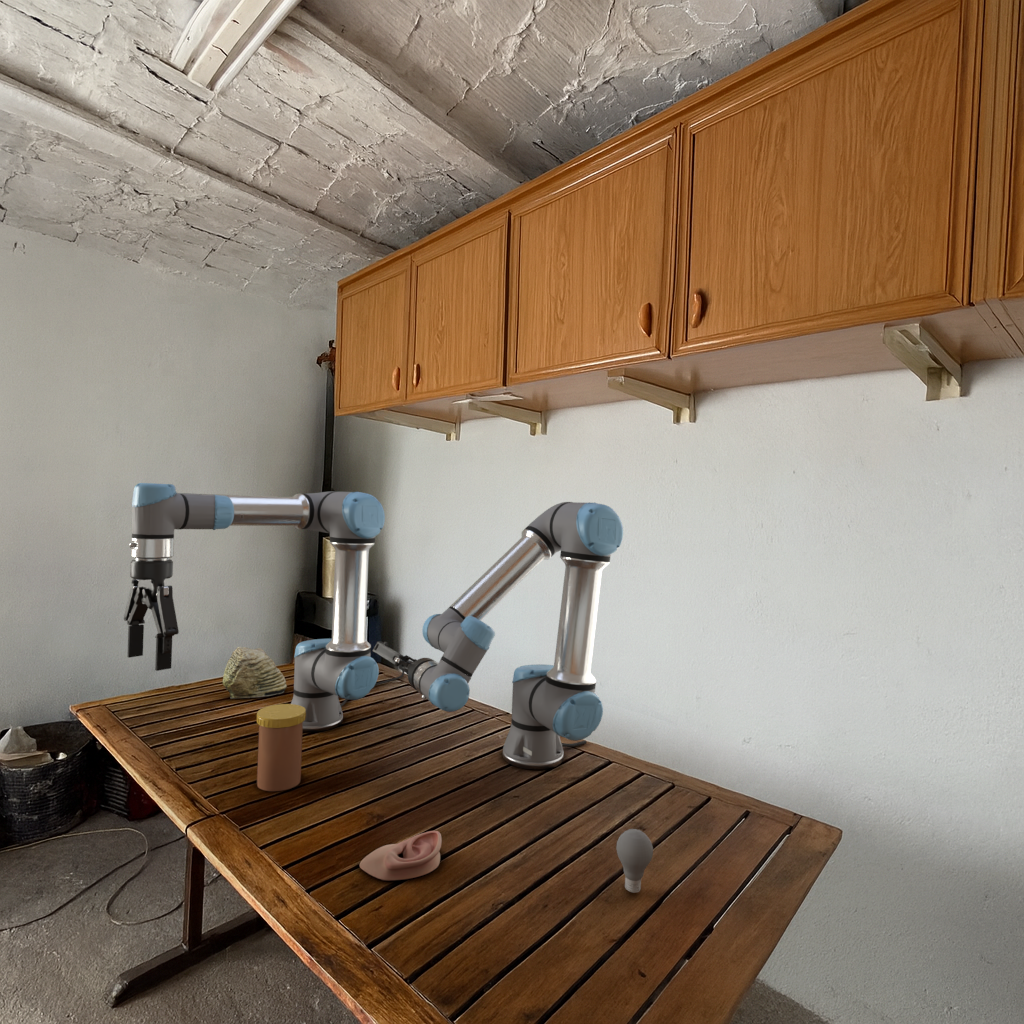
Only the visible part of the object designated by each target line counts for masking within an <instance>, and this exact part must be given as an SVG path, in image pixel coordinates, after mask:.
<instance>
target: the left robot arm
mask: <svg viewBox="0 0 1024 1024" xmlns="http://www.w3.org/2000/svg"><path fill="white" fill-rule="evenodd" d="M385 515H386V513H385V511H384V508H383V505H382V503H381V502H380V501H379V500H378V498H377V497H375V495H373V494H370V493H367V492H363V491H362V492H361V491H337V490H336V491H335V490H333V491H332V490H330V491H321V492H311V493H295V494H294V495H293V496H276V495H275V496H274V495H273V496H272V495H248V494H247V495H246V494H244V495H243V494H220V493H219V494H218V493H217V494H216V493H215V494H214V493H189V492H187V493H186V492H177V491H176V486H175V485H174V484H173V483H152V482H139V483H137V484H136V485H135V486H134V488H133V492H132V501H131V520H132V521H131V542H130V543H128V547H129V548H130V549H131V550H130V556H131V558H133V559H132V560H131V561H130V567H129V568H130V571H129V574H130V575H129V576H130V578H131V581H130V590H129V594H128V598H127V603H126V607H125V610H124V615H123V621H124V622H126V624H127V626H128V629H127V630H128V631H127V658H135V657H142V656H144V635H145V634H144V630H145V625H144V624H145V623H146V621H145V619H144V618H145V616H146V615H147V612H148V609H149V610H151V613H152V618H153V620H154V624H155V627H156V631H157V633H156V635H155V636H154V638H155V661H154V663H155V665H154V668H155V669H154V670H155V671H157V672H159V671H164V670H169V669H172V659H173V657H172V655H173V637H175V636H176V635H179V632H180V631H179V625H178V619H177V615H176V614H177V613H176V609H175V603H174V597H173V595H174V593H173V585H165V580H167V579H171V578H172V577H173V575H174V573H173V572H174V561H173V560H172V559H171V558H173V557H174V554H175V553H174V552H175V530H213V531H215V530H224V529H228V528H230V526H233V527H234V526H237V527H238V526H240V527H243V526H246V527H247V526H249V527H250V526H258V527H259V526H268V527H269V526H276V527H277V526H282V527H284V526H285V527H286V526H287V527H288V526H289V527H290V526H291V527H293V528H294V529H296V530H308V531H309V530H310V531H316V532H319V533H325V534H329V544H330V545H331V546H332V547H333V548H334V550H335V551H334V572H333V573H334V577H333V599H332V625H331V626H332V627H331V638H317V639H308V640H304V641H300V642H299V643H297V645H296V646H295V650H294V655H293V657H294V672H293V673H294V674H293V695H292V696H293V697H292V699H291V702H290V704H295V705H300V706H302V707H304V708H305V709H306V718H305V720H304V721H303V733H316V732H325V731H329V730H332V729H335V728H337V727H339V726H340V725H342V723H343V722H344V714H343V709H342V707H343V706H344V705H345V704H346V703H347V702H348V701H349V700H350V701H357V700H360V699H362V698H364V697H365V696H367V695H368V694H370V692H371V690H372V689H374V687H377V686H379V685H380V686H381V685H383V684H387V683H389V682H393V681H396V680H399V679H401V678H403V677H404V676H405V672H404V671H402V670H401V675H399V676H396V677H393V678H390V679H387V680H383V681H379V682H378V678H379V674H380V672H379V671H380V670H379V669H380V668H379V665H378V663H377V662H376V660H375V659H374V657H371V652H372V649H371V648H372V644H371V643H370V642H368V640H367V639H366V631H367V607H368V606H367V605H368V604H367V602H368V582H369V581H368V579H369V555H370V553H369V552H370V550H371V548H372V547H374V545H375V544H376V536H378V535H379V534H380V533H381V530H383V528H384V526H385V522H386V521H385V520H386V516H385ZM339 698H341V699H342V700H343V699H344V700H343V702H340V699H339Z"/></svg>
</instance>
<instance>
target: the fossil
mask: <svg viewBox="0 0 1024 1024" xmlns="http://www.w3.org/2000/svg"><path fill="white" fill-rule="evenodd" d="M222 676H223V677H222V685H223V687H224V688H225V690H226V691H228V693H229V698H230V699H250V698H264V697H271V696H275V695H281V694H284V693H285V691H286V689H287V687H288V686H287V680H286V678H285V676H284V674H283V673H282V672H281V669H279V668H278V667H277V665H276V663H275V662H274V660H273V659H272V658H271V657H270V656H269V655H268V654H267V653H266V652H265V650H264V649H263V648H260V647H258V648H251V647H247V646H246V647H245V646H238V647H237V648H236V649H235V650H233V651H232V653H231V656H230V657H229V659H228V660H227V663H226V666H225V668H224V671H223V675H222Z"/></svg>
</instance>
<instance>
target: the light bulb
mask: <svg viewBox="0 0 1024 1024" xmlns="http://www.w3.org/2000/svg"><path fill="white" fill-rule="evenodd" d="M615 849H616V854H617V857H618V859H619V861H620V863H621V865H622V867H623V873H624V874H623V875H624V876H625V878H624V888H625V890H627V891H628V892H630V893H634V894H635V893H639V892H640V891H641V889H642V887H641V886H642V879H643V877H644V875H645V871H646V868H647V867H648V866H649V864H650V863H651V861H652V859H653V855H654V847H653V843H652V841H651V838H649V836H648V835H647V834H646V833H645V832H643V831H642V830H641V829H636V828H629V829H627V830H625V831H623V832H622V833H621V834H620V835H619V837H618V839H617V841H616V847H615Z"/></svg>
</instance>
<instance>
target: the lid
mask: <svg viewBox="0 0 1024 1024" xmlns="http://www.w3.org/2000/svg"><path fill="white" fill-rule="evenodd" d="M305 718H306V709H305V708H304V707H302V706H300V705H295V704H291V703H278V704H272V705H268V706H264V707H262V708H260V709H259V710H258V711H256V718H255V719H256V720H255V721H256V724H257V725H258V726H259V725H260V726H263V727H267V728H284V727H290V726H295V725H298V724H300V723H302V722H303V721H304V720H305Z"/></svg>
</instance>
